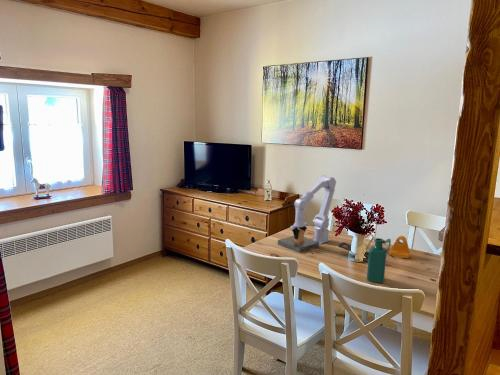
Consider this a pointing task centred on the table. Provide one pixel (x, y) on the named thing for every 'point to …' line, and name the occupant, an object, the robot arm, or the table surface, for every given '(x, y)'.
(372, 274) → the pitcher
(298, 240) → the tan square post
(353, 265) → the table surface
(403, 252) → the orange handbag
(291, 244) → the collar
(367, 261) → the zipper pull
